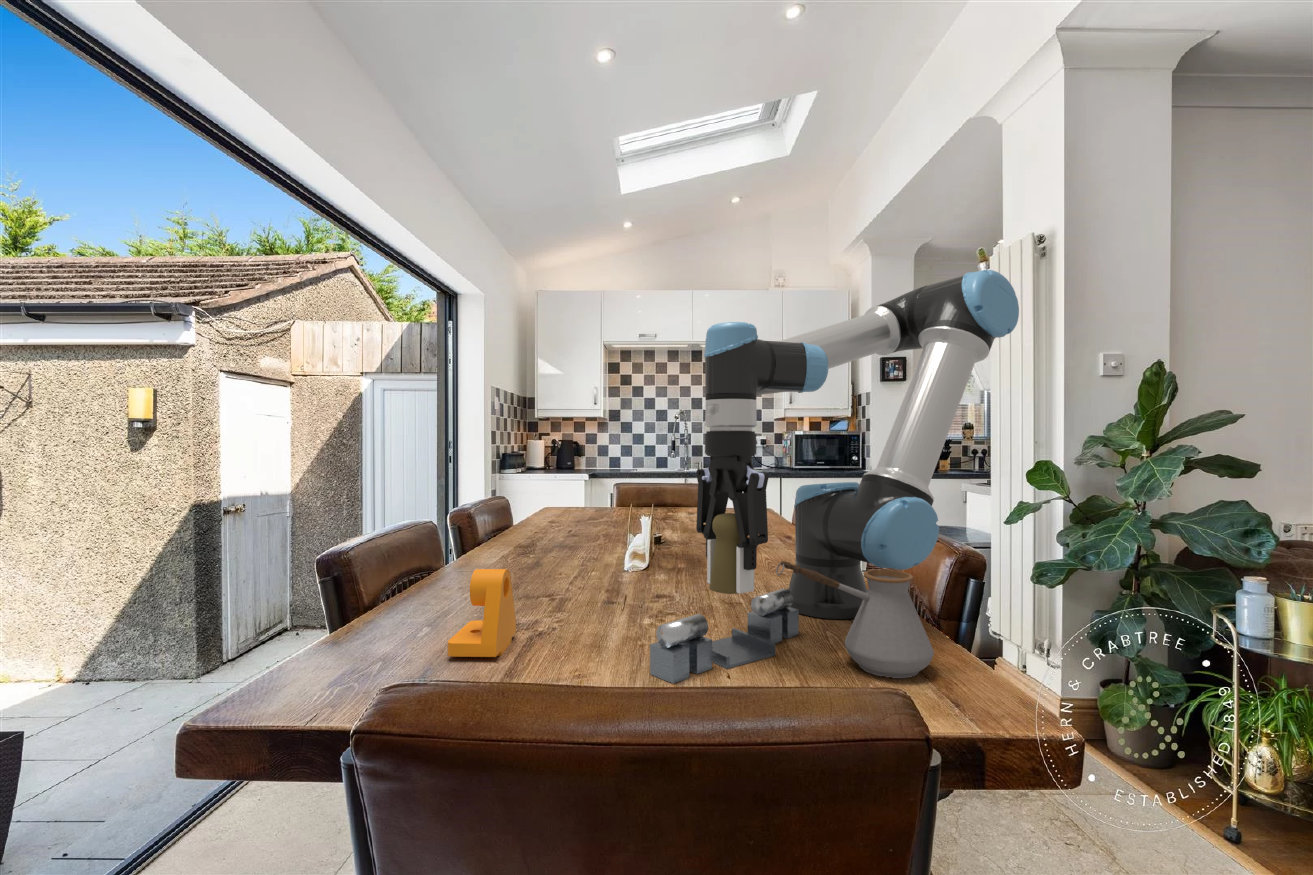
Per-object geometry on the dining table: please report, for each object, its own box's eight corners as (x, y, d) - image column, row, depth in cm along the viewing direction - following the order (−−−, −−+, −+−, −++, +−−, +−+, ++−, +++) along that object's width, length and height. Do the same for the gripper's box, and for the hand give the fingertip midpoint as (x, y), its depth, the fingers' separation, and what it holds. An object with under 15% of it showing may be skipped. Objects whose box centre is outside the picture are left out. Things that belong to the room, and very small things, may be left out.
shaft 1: (688, 659, 87) (688, 610, 87) (712, 668, 83) (711, 617, 83) (650, 674, 82) (650, 622, 81) (673, 683, 78) (673, 629, 78)
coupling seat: (734, 638, 96) (734, 628, 96) (775, 655, 88) (775, 644, 88) (687, 649, 91) (687, 638, 91) (726, 668, 83) (726, 657, 83)
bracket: (470, 636, 97) (470, 561, 97) (515, 637, 97) (515, 562, 97) (445, 662, 86) (445, 577, 86) (496, 662, 86) (495, 577, 86)
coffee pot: (907, 651, 90) (907, 550, 90) (951, 682, 78) (951, 566, 78) (766, 656, 88) (765, 552, 88) (790, 689, 77) (789, 570, 77)
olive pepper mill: (734, 596, 85) (734, 517, 85) (701, 588, 89) (701, 513, 89) (758, 588, 90) (759, 513, 90) (725, 581, 94) (725, 510, 94)
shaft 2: (770, 645, 93) (770, 599, 92) (747, 638, 96) (747, 593, 96) (798, 634, 98) (798, 590, 98) (775, 627, 101) (775, 585, 101)
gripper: (672, 429, 95) (672, 577, 95) (755, 428, 79) (755, 605, 79) (710, 430, 99) (710, 571, 99) (796, 429, 84) (795, 597, 84)
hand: (730, 586), depth 89 cm, fingers closed on olive pepper mill, 6 cm apart
